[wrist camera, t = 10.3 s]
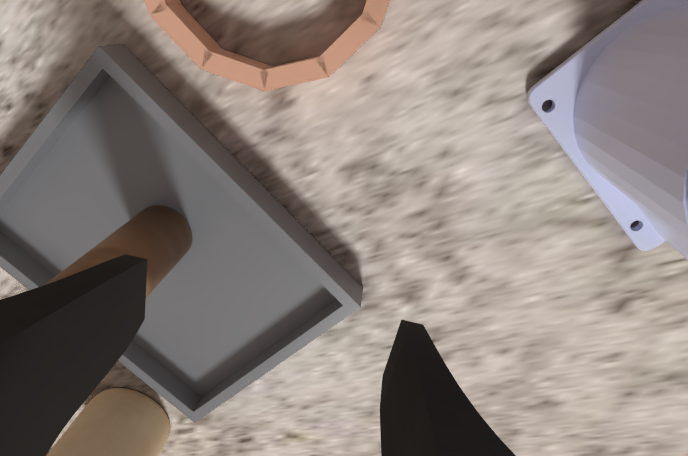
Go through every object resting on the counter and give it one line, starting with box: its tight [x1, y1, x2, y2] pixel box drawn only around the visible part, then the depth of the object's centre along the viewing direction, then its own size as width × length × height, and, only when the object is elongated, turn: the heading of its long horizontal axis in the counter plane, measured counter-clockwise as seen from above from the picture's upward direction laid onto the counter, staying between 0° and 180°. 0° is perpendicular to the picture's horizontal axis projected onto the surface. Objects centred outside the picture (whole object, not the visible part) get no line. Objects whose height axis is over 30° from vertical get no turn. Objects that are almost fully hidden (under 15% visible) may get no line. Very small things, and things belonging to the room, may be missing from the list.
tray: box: [0, 44, 363, 422], centre depth 24 cm, size 16×13×2 cm
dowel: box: [45, 205, 192, 298], centre depth 19 cm, size 3×3×9 cm
